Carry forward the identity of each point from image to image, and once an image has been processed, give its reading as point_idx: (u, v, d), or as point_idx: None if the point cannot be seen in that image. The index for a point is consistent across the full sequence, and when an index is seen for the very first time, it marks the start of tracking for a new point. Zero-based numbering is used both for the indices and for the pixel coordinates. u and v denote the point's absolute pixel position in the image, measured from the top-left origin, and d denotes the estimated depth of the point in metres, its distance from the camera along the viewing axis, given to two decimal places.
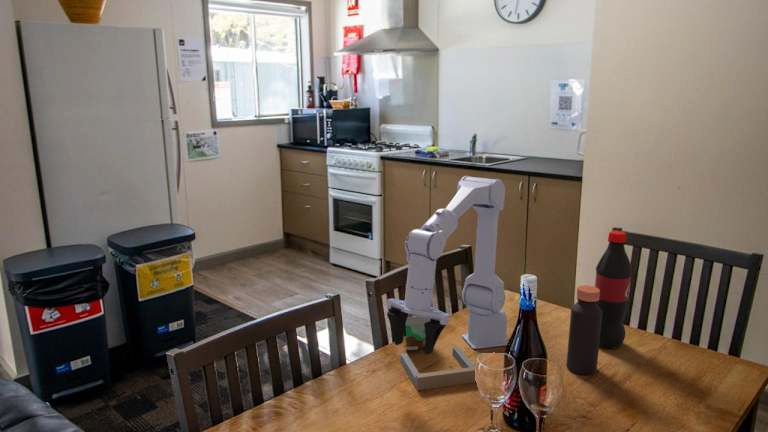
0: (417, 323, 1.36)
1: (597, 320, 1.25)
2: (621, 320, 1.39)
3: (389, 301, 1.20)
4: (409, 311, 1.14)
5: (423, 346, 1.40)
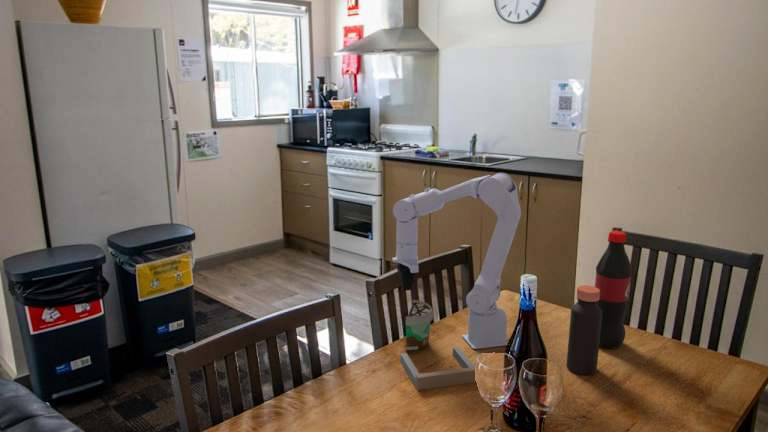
0: (417, 323, 1.36)
1: (597, 320, 1.25)
2: (621, 320, 1.39)
3: None
4: (393, 260, 1.49)
5: (423, 346, 1.40)
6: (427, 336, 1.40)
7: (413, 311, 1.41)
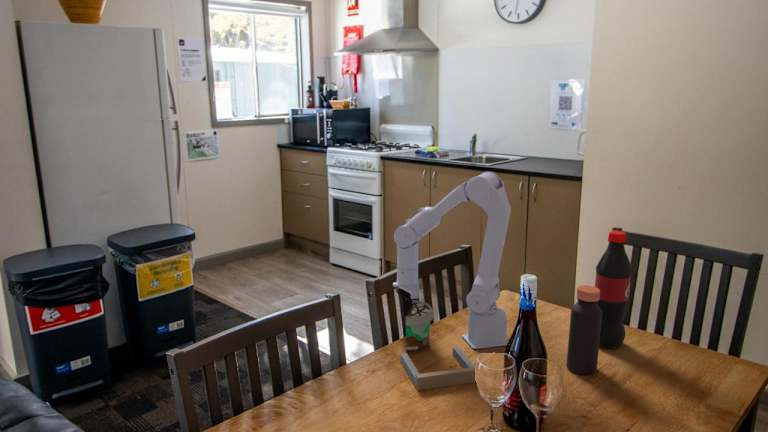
0: (417, 323, 1.36)
1: (597, 320, 1.25)
2: (621, 320, 1.39)
3: None
4: (394, 285, 1.50)
5: (423, 346, 1.40)
6: (427, 336, 1.40)
7: (413, 311, 1.41)
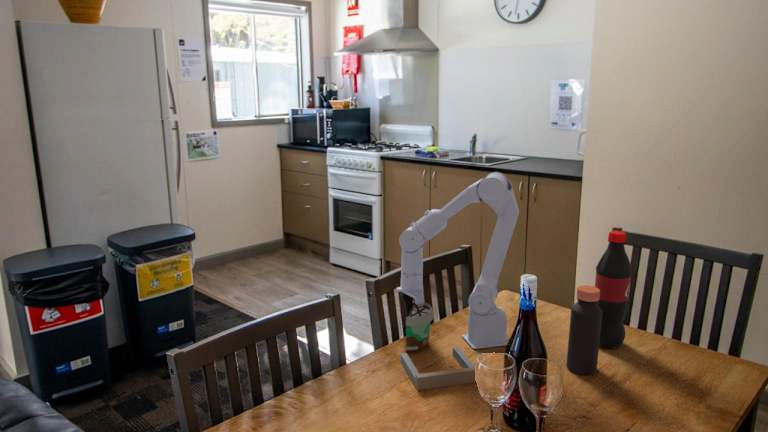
0: (417, 323, 1.36)
1: (597, 320, 1.25)
2: (621, 320, 1.39)
3: None
4: (398, 290, 1.46)
5: (423, 346, 1.40)
6: (427, 336, 1.40)
7: (413, 311, 1.40)
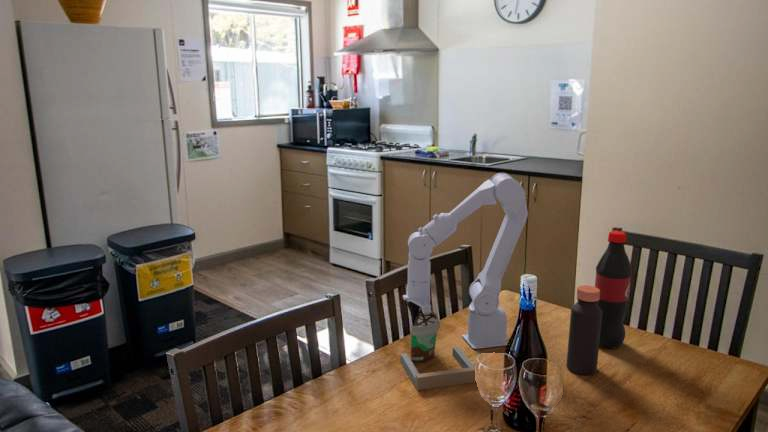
0: (423, 333, 1.30)
1: (597, 320, 1.25)
2: (621, 320, 1.39)
3: (407, 287, 1.48)
4: (404, 298, 1.41)
5: (429, 357, 1.34)
6: (433, 346, 1.35)
7: (419, 320, 1.35)
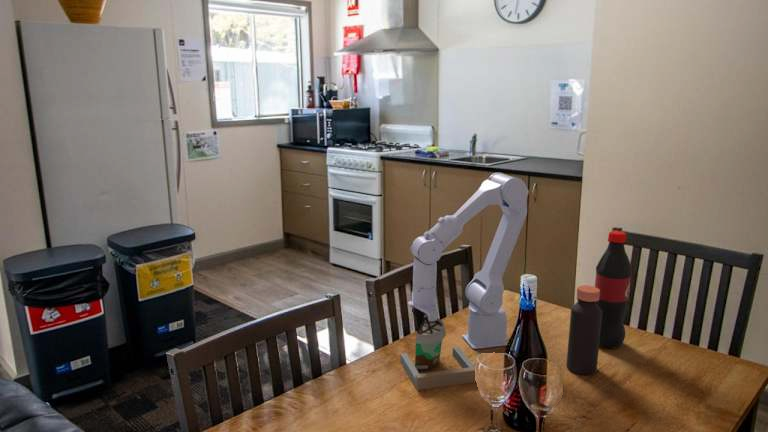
0: (428, 341, 1.26)
1: (597, 320, 1.25)
2: (621, 320, 1.39)
3: (412, 293, 1.44)
4: (409, 304, 1.36)
5: (433, 365, 1.30)
6: (438, 355, 1.31)
7: (424, 327, 1.31)
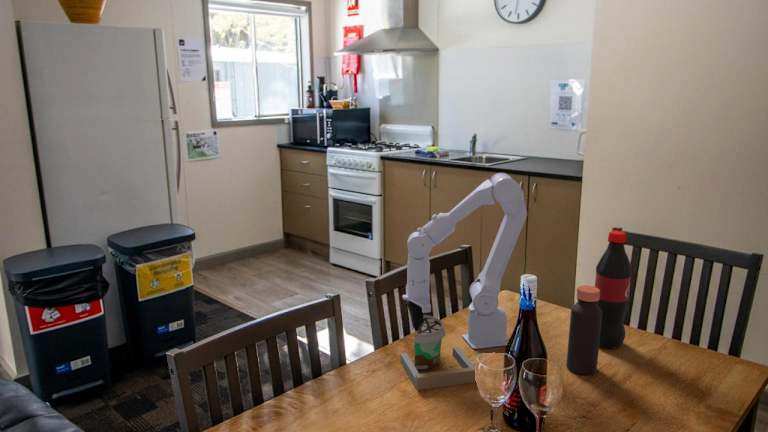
0: (427, 341, 1.26)
1: (597, 320, 1.25)
2: (621, 320, 1.39)
3: (406, 287, 1.49)
4: (404, 297, 1.41)
5: (433, 365, 1.30)
6: (438, 354, 1.31)
7: (423, 327, 1.31)
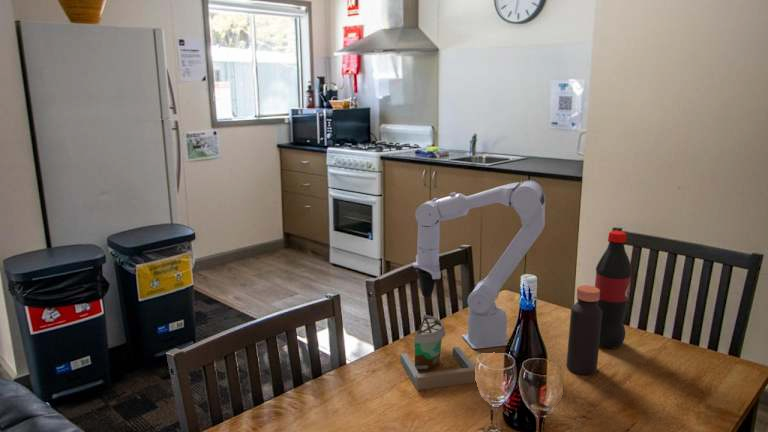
0: (427, 341, 1.26)
1: (597, 320, 1.25)
2: (621, 320, 1.39)
3: (416, 256, 1.52)
4: (414, 265, 1.44)
5: (433, 365, 1.30)
6: (438, 354, 1.31)
7: (423, 327, 1.31)
